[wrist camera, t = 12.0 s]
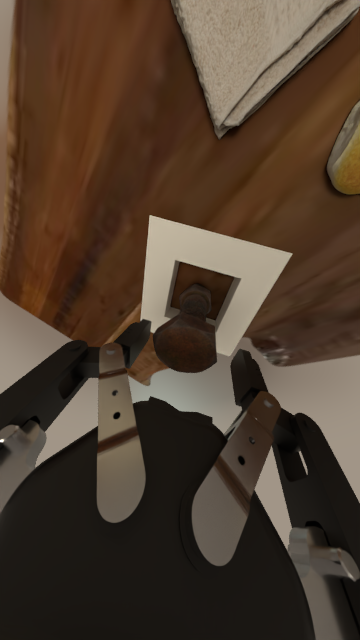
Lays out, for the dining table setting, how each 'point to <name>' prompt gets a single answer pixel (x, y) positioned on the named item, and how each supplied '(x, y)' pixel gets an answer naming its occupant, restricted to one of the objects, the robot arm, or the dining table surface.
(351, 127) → the bread roll
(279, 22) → the washcloth
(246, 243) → the collar block
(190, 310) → the bolt
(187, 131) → the dining table surface
